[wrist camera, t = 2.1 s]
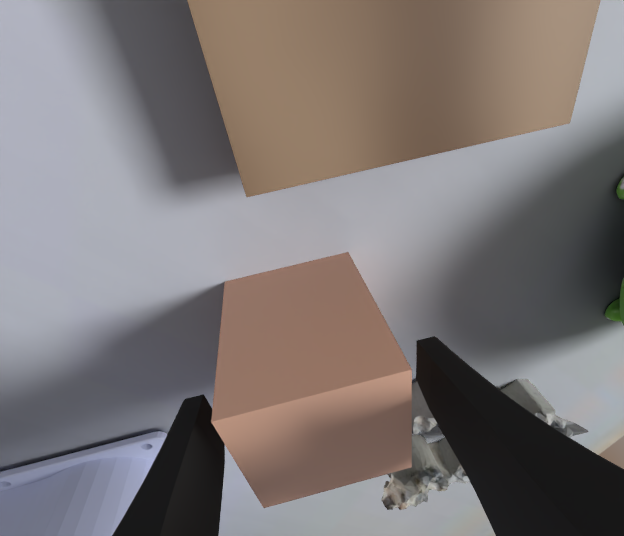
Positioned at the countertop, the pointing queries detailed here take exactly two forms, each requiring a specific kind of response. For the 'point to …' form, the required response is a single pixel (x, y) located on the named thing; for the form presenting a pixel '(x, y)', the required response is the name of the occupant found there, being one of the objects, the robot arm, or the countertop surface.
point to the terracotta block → (310, 381)
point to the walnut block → (384, 78)
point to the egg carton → (440, 457)
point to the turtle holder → (620, 308)
